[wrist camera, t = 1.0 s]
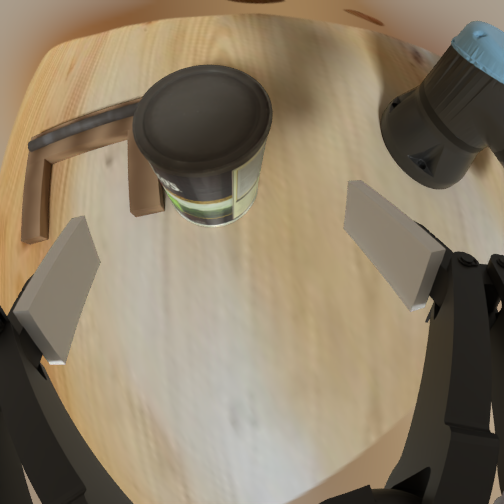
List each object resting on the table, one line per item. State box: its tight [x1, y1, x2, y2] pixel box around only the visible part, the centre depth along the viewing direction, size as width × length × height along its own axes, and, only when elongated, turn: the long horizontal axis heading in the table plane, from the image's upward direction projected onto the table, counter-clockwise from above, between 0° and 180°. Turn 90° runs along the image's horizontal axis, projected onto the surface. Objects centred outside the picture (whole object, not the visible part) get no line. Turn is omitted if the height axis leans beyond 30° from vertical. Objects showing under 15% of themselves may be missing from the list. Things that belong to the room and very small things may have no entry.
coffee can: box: [132, 65, 272, 227], centre depth 26 cm, size 10×10×14 cm
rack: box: [21, 98, 165, 244], centre depth 31 cm, size 20×16×4 cm
